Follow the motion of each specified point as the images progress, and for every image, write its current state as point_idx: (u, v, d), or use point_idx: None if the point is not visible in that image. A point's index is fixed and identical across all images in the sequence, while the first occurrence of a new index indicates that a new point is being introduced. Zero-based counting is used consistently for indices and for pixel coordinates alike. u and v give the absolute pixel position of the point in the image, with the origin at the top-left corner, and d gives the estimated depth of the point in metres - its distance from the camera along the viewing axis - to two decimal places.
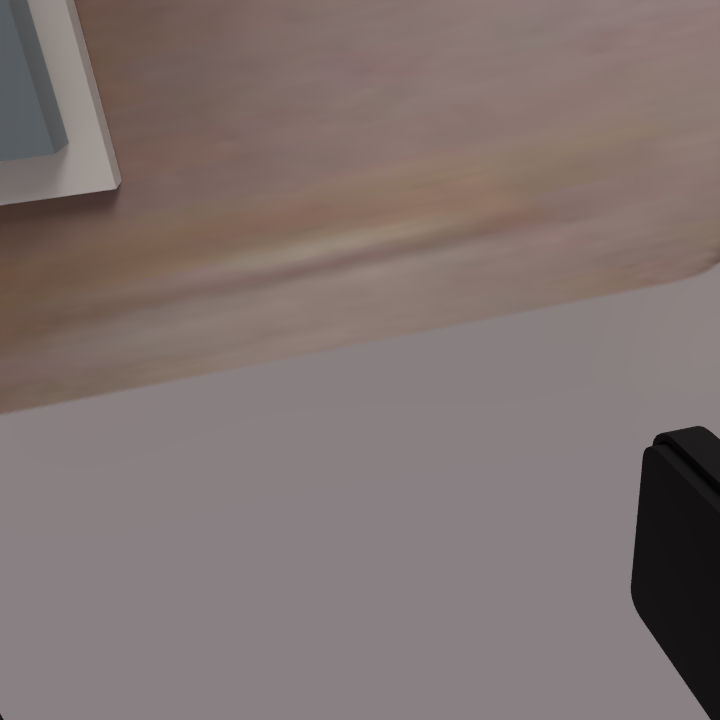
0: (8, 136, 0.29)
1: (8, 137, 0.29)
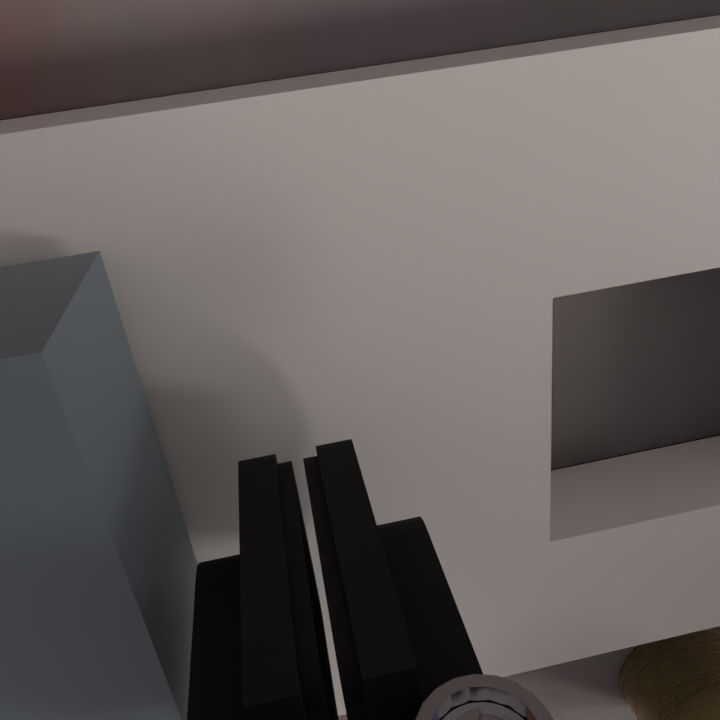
0: None
1: None
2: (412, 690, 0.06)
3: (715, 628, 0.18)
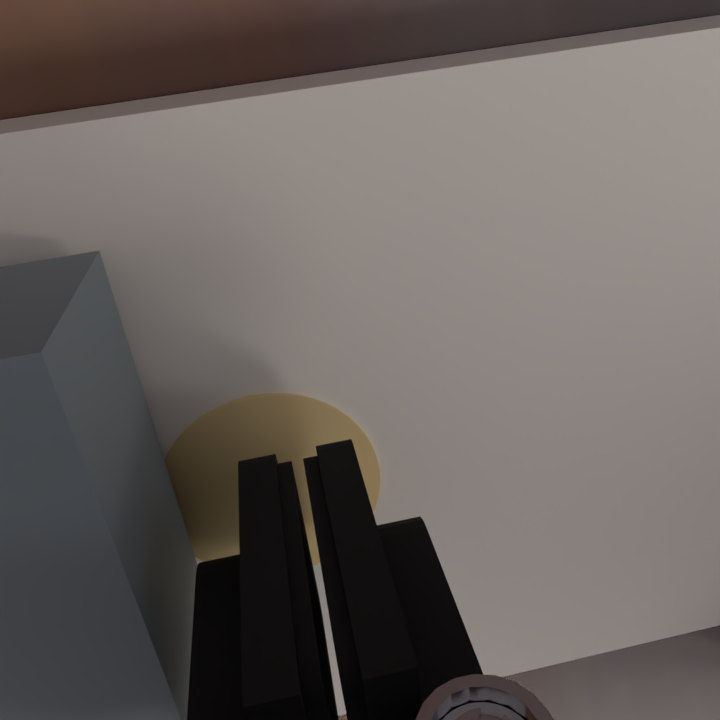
0: None
1: None
2: (412, 690, 0.06)
3: None
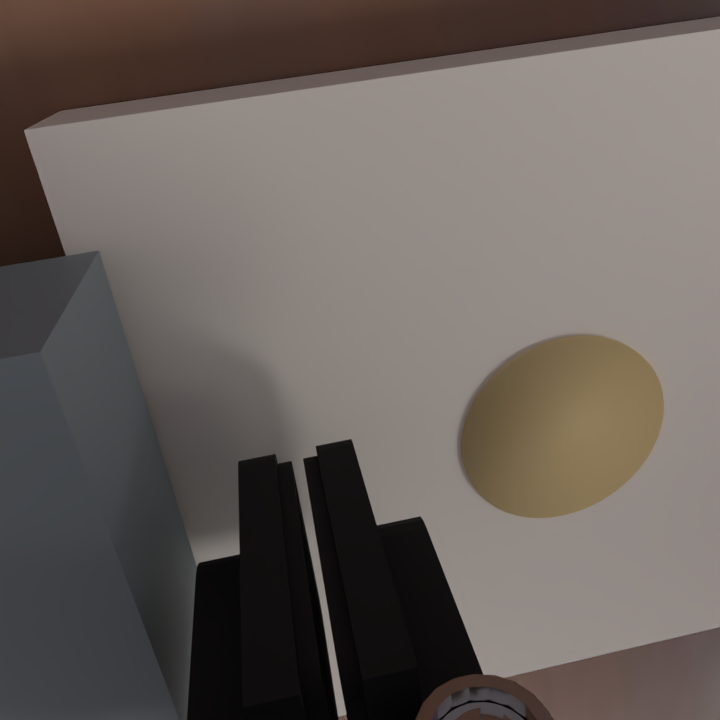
0: None
1: None
2: (412, 690, 0.06)
3: None
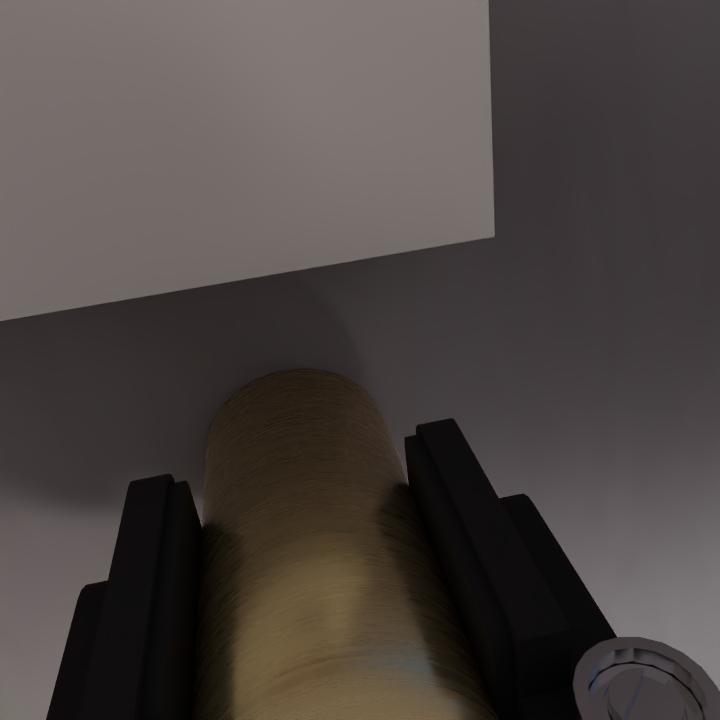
0: None
1: None
2: (564, 651, 0.06)
3: (342, 380, 0.11)
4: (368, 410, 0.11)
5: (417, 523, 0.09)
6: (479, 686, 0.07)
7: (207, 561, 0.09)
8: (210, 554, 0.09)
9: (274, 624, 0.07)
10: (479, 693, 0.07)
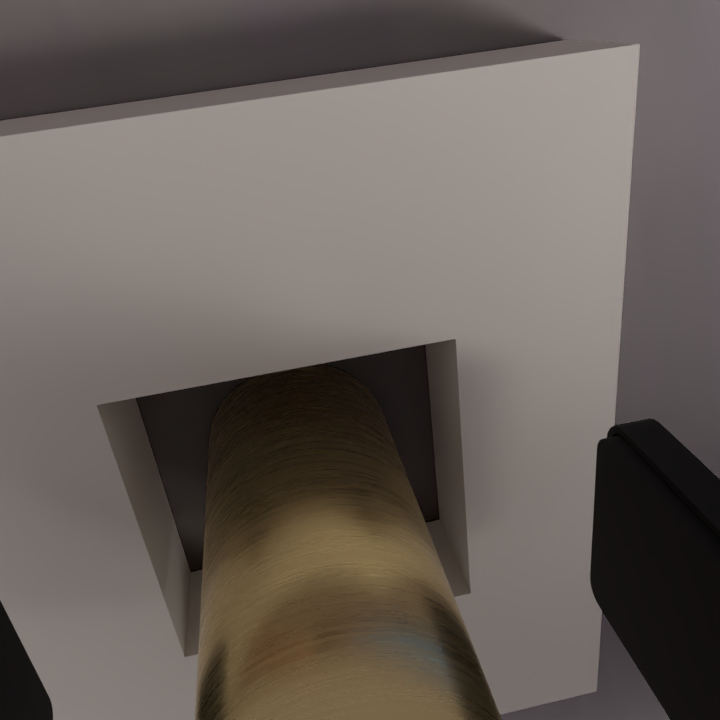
0: None
1: None
2: None
3: (342, 373, 0.12)
4: (366, 402, 0.11)
5: (414, 510, 0.09)
6: (473, 663, 0.07)
7: (211, 546, 0.09)
8: (213, 540, 0.09)
9: (275, 603, 0.07)
10: (473, 669, 0.07)
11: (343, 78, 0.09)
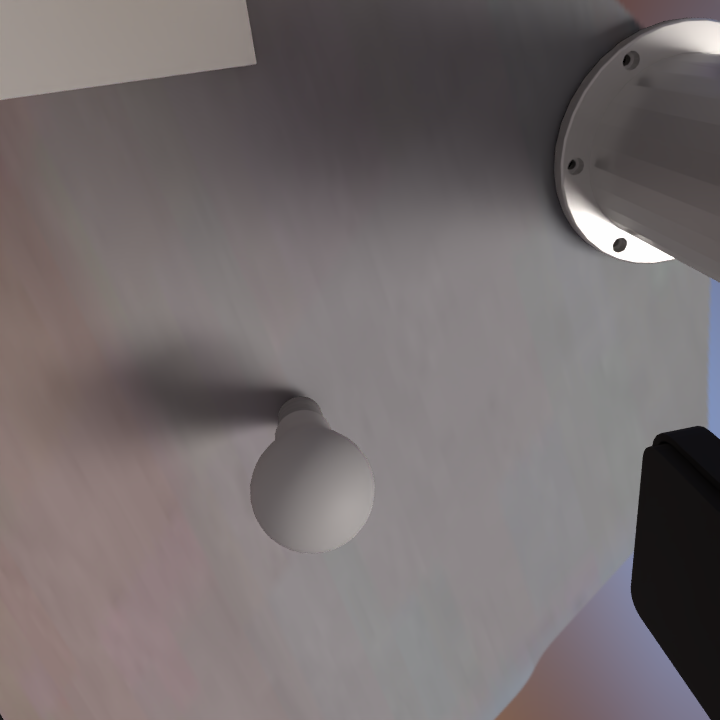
0: None
1: None
2: None
3: None
4: None
5: None
6: None
7: None
8: None
9: None
10: None
11: None
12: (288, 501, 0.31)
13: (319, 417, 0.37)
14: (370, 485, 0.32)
